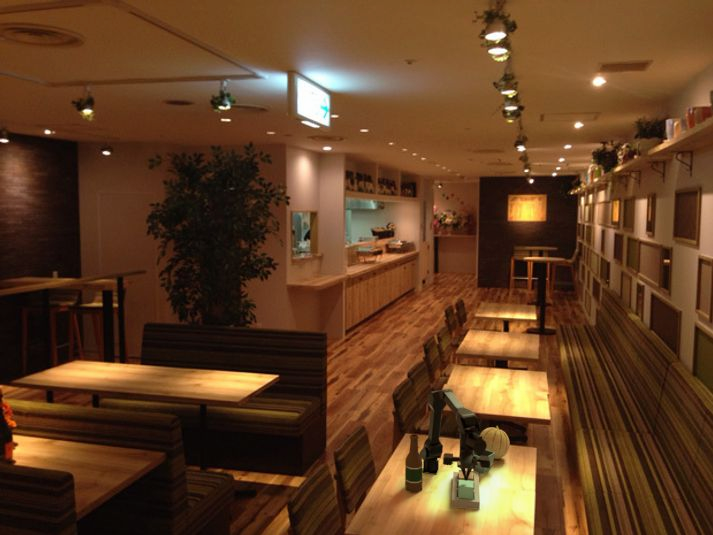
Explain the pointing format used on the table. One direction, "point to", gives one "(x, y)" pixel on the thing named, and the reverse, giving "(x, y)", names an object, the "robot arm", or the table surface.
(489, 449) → the cantaloupe
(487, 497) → the table surface
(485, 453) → the flower pot
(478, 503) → the grey rectangular tray
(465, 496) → the green block
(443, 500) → the table surface
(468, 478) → the tan block
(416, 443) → the beer bottle
